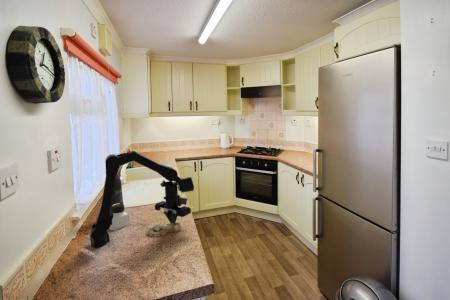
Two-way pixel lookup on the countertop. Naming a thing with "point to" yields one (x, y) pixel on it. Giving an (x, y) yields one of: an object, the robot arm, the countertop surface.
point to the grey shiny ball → (157, 228)
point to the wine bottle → (117, 192)
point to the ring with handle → (164, 229)
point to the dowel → (176, 228)
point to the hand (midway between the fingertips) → (173, 225)
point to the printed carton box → (119, 217)
